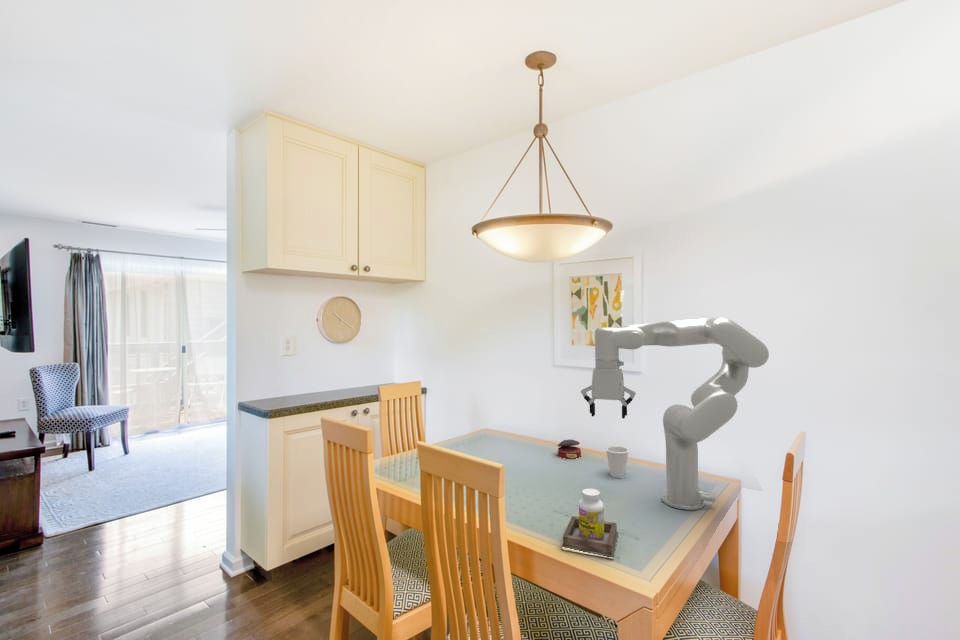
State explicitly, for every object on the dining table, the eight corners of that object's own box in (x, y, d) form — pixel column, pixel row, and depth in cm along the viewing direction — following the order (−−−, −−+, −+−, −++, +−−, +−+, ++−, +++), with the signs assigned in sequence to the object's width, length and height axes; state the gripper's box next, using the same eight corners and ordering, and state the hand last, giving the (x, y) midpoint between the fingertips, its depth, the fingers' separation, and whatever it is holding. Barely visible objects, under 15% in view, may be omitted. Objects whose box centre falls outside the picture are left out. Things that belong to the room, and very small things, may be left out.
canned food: (559, 468, 189) (548, 447, 191) (569, 459, 198) (558, 439, 199) (580, 460, 183) (568, 438, 185) (589, 451, 191) (578, 430, 193)
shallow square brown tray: (618, 535, 122) (618, 522, 122) (613, 560, 110) (613, 546, 110) (571, 527, 127) (570, 515, 127) (561, 550, 115) (561, 536, 115)
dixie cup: (625, 480, 161) (625, 453, 161) (603, 476, 166) (603, 450, 166) (631, 473, 168) (631, 447, 168) (610, 469, 173) (609, 444, 173)
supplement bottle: (574, 538, 118) (573, 491, 118) (587, 530, 123) (586, 485, 123) (596, 547, 114) (595, 498, 113) (609, 538, 118) (608, 491, 118)
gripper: (635, 364, 143) (636, 415, 143) (582, 363, 150) (583, 412, 150) (634, 366, 136) (635, 421, 136) (578, 365, 143) (579, 417, 143)
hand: (608, 416), depth 143 cm, fingers open, 9 cm apart
